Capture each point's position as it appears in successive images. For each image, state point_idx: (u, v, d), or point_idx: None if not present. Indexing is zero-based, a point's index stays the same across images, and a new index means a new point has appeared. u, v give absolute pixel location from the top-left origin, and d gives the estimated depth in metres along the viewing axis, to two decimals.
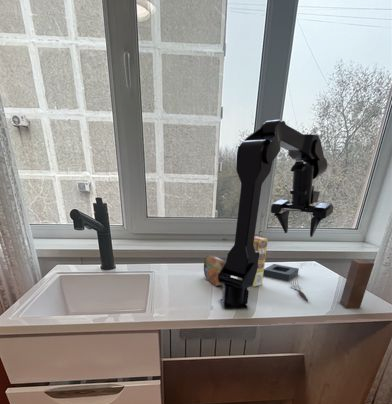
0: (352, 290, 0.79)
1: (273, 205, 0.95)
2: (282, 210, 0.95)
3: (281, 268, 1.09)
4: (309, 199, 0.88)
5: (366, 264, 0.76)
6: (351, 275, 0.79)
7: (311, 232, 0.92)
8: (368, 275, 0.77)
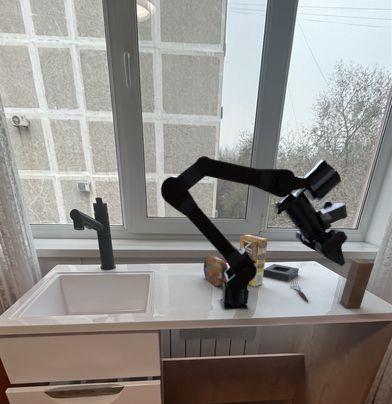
0: (352, 290, 0.79)
1: (296, 234, 0.81)
2: None
3: (281, 268, 1.09)
4: (315, 229, 0.70)
5: (366, 264, 0.76)
6: (351, 275, 0.79)
7: None
8: (368, 275, 0.77)
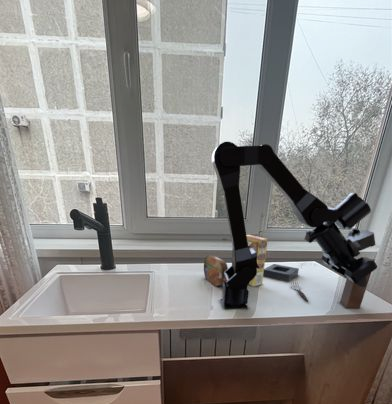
0: (352, 290, 0.79)
1: (322, 257, 0.85)
2: None
3: (281, 268, 1.09)
4: (344, 256, 0.74)
5: None
6: None
7: (358, 284, 0.78)
8: (368, 275, 0.77)
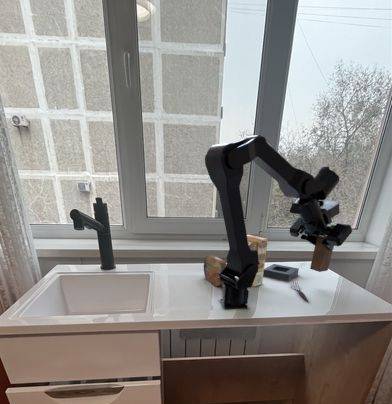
0: (324, 255, 0.90)
1: (291, 230, 0.92)
2: None
3: (281, 268, 1.09)
4: (322, 225, 0.83)
5: None
6: (320, 242, 0.90)
7: (328, 249, 0.89)
8: None
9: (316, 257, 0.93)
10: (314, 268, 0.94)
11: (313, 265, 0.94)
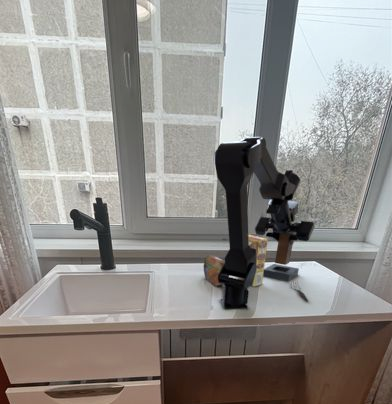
0: (288, 249, 1.00)
1: (257, 229, 0.98)
2: (273, 231, 0.97)
3: (281, 268, 1.09)
4: (290, 222, 0.92)
5: None
6: (284, 238, 0.99)
7: (291, 244, 1.00)
8: None
9: (280, 252, 1.02)
10: (279, 262, 1.04)
11: (278, 259, 1.03)
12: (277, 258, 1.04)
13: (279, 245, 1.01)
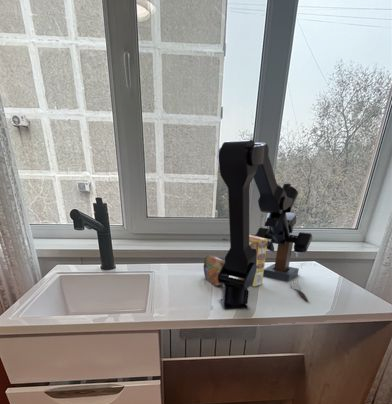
0: (286, 263, 1.03)
1: None
2: None
3: None
4: (288, 234, 0.93)
5: None
6: (281, 252, 1.02)
7: (296, 255, 1.00)
8: (291, 249, 1.03)
9: (278, 265, 1.04)
10: None
11: None
12: None
13: (277, 258, 1.04)
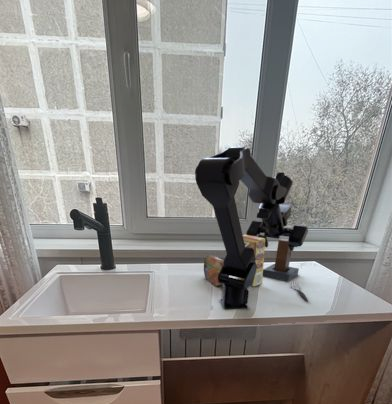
0: (286, 263, 1.03)
1: (248, 233, 0.94)
2: (258, 235, 0.95)
3: None
4: (282, 227, 0.87)
5: None
6: (281, 252, 1.02)
7: (291, 250, 0.94)
8: None
9: (278, 265, 1.04)
10: None
11: None
12: None
13: (277, 258, 1.04)
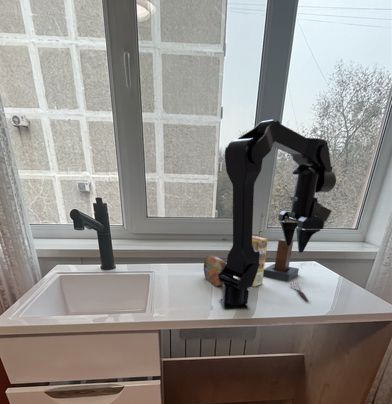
0: (286, 263, 1.03)
1: (281, 212, 0.91)
2: (287, 219, 0.90)
3: None
4: (305, 209, 0.81)
5: None
6: (281, 252, 1.02)
7: (298, 246, 0.83)
8: (291, 249, 1.03)
9: (278, 265, 1.04)
10: None
11: None
12: None
13: (277, 258, 1.04)
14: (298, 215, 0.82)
